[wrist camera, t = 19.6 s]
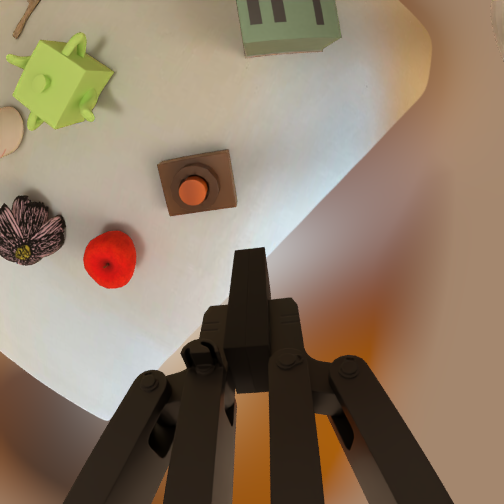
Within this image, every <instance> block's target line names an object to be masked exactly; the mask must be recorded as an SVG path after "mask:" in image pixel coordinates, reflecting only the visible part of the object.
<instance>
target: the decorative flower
mask: <svg viewBox="0 0 504 504" xmlns="http://www.w3.org/2000/svg"><path fill="white" fill-rule="evenodd" d="M47 219H48V207H47V206H45V205H44V203H42V204H41V203H40V202H39V203H38V202H35V201H34V202H31V200H29V199H28V196H18V197H16V199H15V200H14V202H13V205H12V210H10V208H9V207H8V206H7V205H6V204H5V203H4V204H3V206H2V207H1V208H0V255H1V256H2V257H3V258H5V259H6V260H8V261H11V262H17V264H20V265H25V266H27V265H33V264H35V263H37V262H38V261H40V260H41V259H42V258H43V257H46V256H49V255H51V254H53V253H54V252H56V251H57V250H59V249H60V247H61V246H62V245H63V243H64V240H65V239H64V234H63V233H64V229H65V227H66V225H65V221H64V219H63V217H62V216H61V215H57V216H55V217H53V218H51V219H50V220H49V221H48V222H47Z"/></svg>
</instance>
